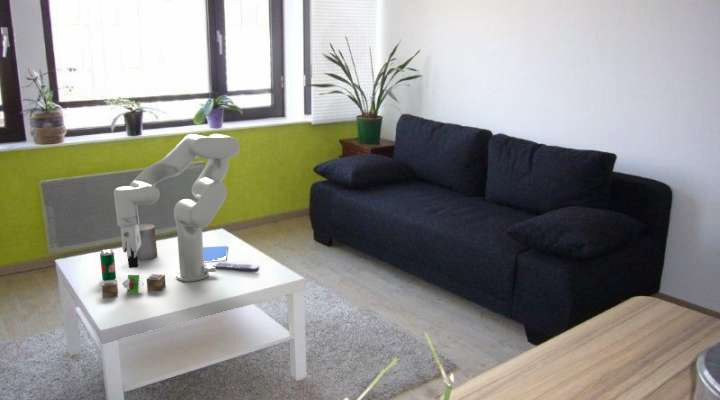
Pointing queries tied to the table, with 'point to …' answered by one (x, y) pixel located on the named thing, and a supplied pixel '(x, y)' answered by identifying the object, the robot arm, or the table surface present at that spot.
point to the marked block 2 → (156, 283)
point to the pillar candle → (147, 242)
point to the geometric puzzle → (132, 284)
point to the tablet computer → (214, 252)
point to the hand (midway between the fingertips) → (133, 267)
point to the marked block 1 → (109, 288)
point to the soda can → (107, 265)
